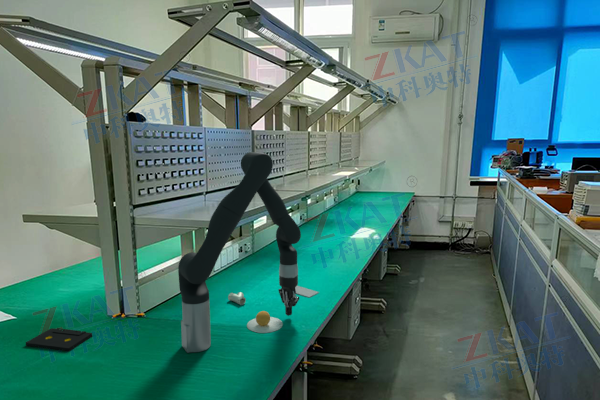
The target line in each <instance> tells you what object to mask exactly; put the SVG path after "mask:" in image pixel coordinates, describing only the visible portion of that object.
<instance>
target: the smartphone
mask: <svg viewBox="0 0 600 400" xmlns="http://www.w3.org/2000/svg"><path fill="white" fill-rule="evenodd" d="M295 290H296V295H298V296H302V297H305V298H312V297H314V296H317V295H318V294H319V293H320V291H316V290H313V289H310V288H307V287H304V286H300V285H297V286H296V287H295Z"/></svg>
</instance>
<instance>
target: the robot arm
mask: <svg viewBox="0 0 600 400" xmlns="http://www.w3.org/2000/svg"><path fill="white" fill-rule="evenodd" d="M241 157H242V158H241V160H240V168H241V170H242V172H243V174H244V176H243V178H242V179H241V181H240V182H239V183H238V184H237V185H236V187H234V188H233V189H232V190H231V191H230V192H228V193H227V194H226V195H225V196H224V197H223V198H222V200H220V202H219V204H218V205H217V207H216V208H215V210H214V212H213V214H212V215H211V216H210V220H209V223H208V227H207V232H206V235H205V237H204V241H203V242H202V245H200V247H199V249H198V251H197V252H187V253H186V254H184V255H182V257H181V258H180V259H179V263H178V267H177V268H178V269H177V271H178V284H179V285H178V286H179V291H180V296H181V306H182V307H181V308H182V309H181V310H182V319H181V320H180V326H181V328H180V329H181V332H180V333H181V347H182V348H183V349H184V350H185V352H186V353H187V354H188V353H199V352H203V351H206V350H208V349H209V348H210V347H211V345H212V344H211V342H212V340H211V308H210V304H211V303H210V290H209V288H208V285H207V283H206V281H207V280H208V278H209V277H210V276H211V274H212V272H213V270H214V268H215V266H216V264H217V262H218V259H219V256H220V255H221V253H222V252H223V249H224V247H225V246H226V244H227V243H228V241H229V239H230V238H231V236H232V235H233V233H234V231H235V230H236V228H237V226H238V224H239V222H240V221H241V219H242V218H243V216H244V214H245V212H246V210H247V208H249V206H250V204H251V203H252V200H253V199H254V197H255V196H256V194H258V195H259V198H260V199H261V201H262V203H263V205H264V207H265V208H266V211H267V213H268V215H269V217H270V219H271V221H272V223H273V224H274V225H276V226H277V228H276V232H275V238H276V244H277V248H278V252H279V269H278V275H279V277H278V282H279V286H280V287H281V288H279V289H278V293H279V296H280V300H281V303H282V304H284V307H285V309H284V310H285V315H286V316H288V317H289V316H291V315H292V314H293V307H295V306H296V305H297V304H298V302H299V300H300V296H297V294H296V290H295V287H296V286H299V266H298V251H297V250H296V248H295V247H294V246H293V245H295V244H297V243H299V241H300V240H301V238H302V236H301V235H302V233H301V229H300V227H299V226H298V224H297V223H296V221H295V220H294V219H293V217H292V216H291V214H290V213H289V211H288V208H287V207H286V205H285V203H284V200H283V199H282V197H281V196H280V195H279V193H278V192H277V190H275V188H274V187H273V186H272V184H271V183H270V181H269V180H268V178H269V176H270V175H271V172H272V170H273V167H274V164H273V159H272V157H271V156H270V155H269V154H267V153H263V152H258V151H256V152H255V151H251V152H250V151H249V152H247V153H245V154H244V155H243V156H241Z"/></svg>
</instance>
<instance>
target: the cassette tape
mask: <svg viewBox="0 0 600 400" xmlns="http://www.w3.org/2000/svg"><path fill="white" fill-rule="evenodd" d="M92 337H93V333H92V332H88V331H84V330H83V331H82V330H77V329H76V330H74V329H66V328H60V327H59V328H58V327H57V328H49V329H47V330H45V331H44V332H42V333H40V334H38V335H36V336H35V337H33V338H31V339H29V340H27V341H25V346H26V347H30V348H37V349H45V350H50V351H51V350H53V351H61V352H71V351H73V350H75V349H76V348H77V347H79V346H80V345H82V344H83V343H85V342H86V341H88V340H90V339H91V338H92Z"/></svg>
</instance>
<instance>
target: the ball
mask: <svg viewBox="0 0 600 400" xmlns="http://www.w3.org/2000/svg"><path fill="white" fill-rule="evenodd" d="M270 317H271V316H270V314H269V312H268V311H265V310H262V311H259V312H258V313H257V314H256V315H255V318H256V322H257V323H258V324H259V325H261V326H265V325H267V324H268V323H269V322H270Z"/></svg>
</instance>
